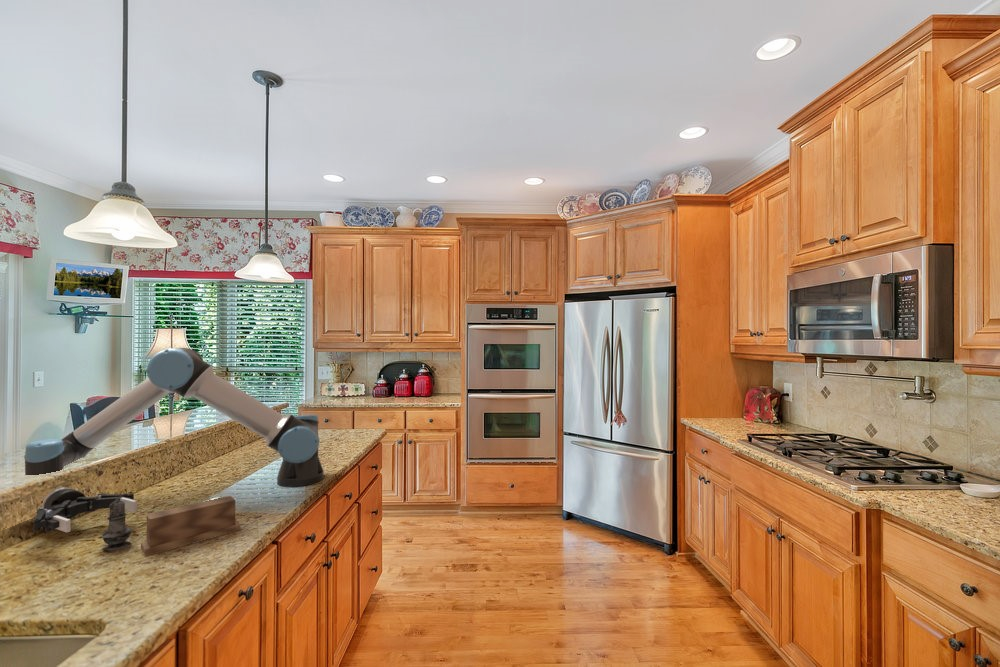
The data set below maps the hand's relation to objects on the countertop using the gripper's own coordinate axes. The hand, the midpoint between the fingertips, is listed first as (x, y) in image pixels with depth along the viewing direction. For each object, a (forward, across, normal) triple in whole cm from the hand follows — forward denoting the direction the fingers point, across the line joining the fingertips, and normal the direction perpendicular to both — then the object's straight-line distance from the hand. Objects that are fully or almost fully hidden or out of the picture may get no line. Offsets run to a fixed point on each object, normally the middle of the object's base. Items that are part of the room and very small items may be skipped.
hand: (103, 515), depth 113 cm
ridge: (+17, -11, -7) cm, 22 cm away
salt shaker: (+5, 0, -7) cm, 9 cm away
